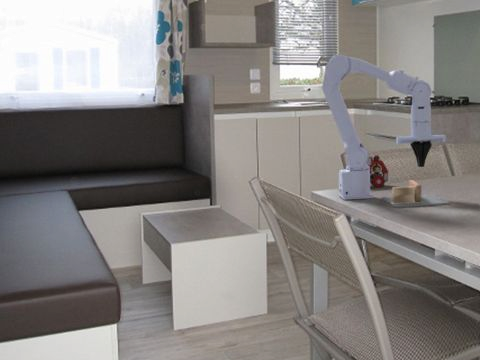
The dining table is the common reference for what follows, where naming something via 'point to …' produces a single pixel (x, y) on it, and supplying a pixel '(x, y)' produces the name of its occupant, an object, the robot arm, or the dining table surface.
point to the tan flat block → (412, 183)
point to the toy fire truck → (377, 171)
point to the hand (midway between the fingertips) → (420, 166)
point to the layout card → (425, 201)
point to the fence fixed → (406, 194)
